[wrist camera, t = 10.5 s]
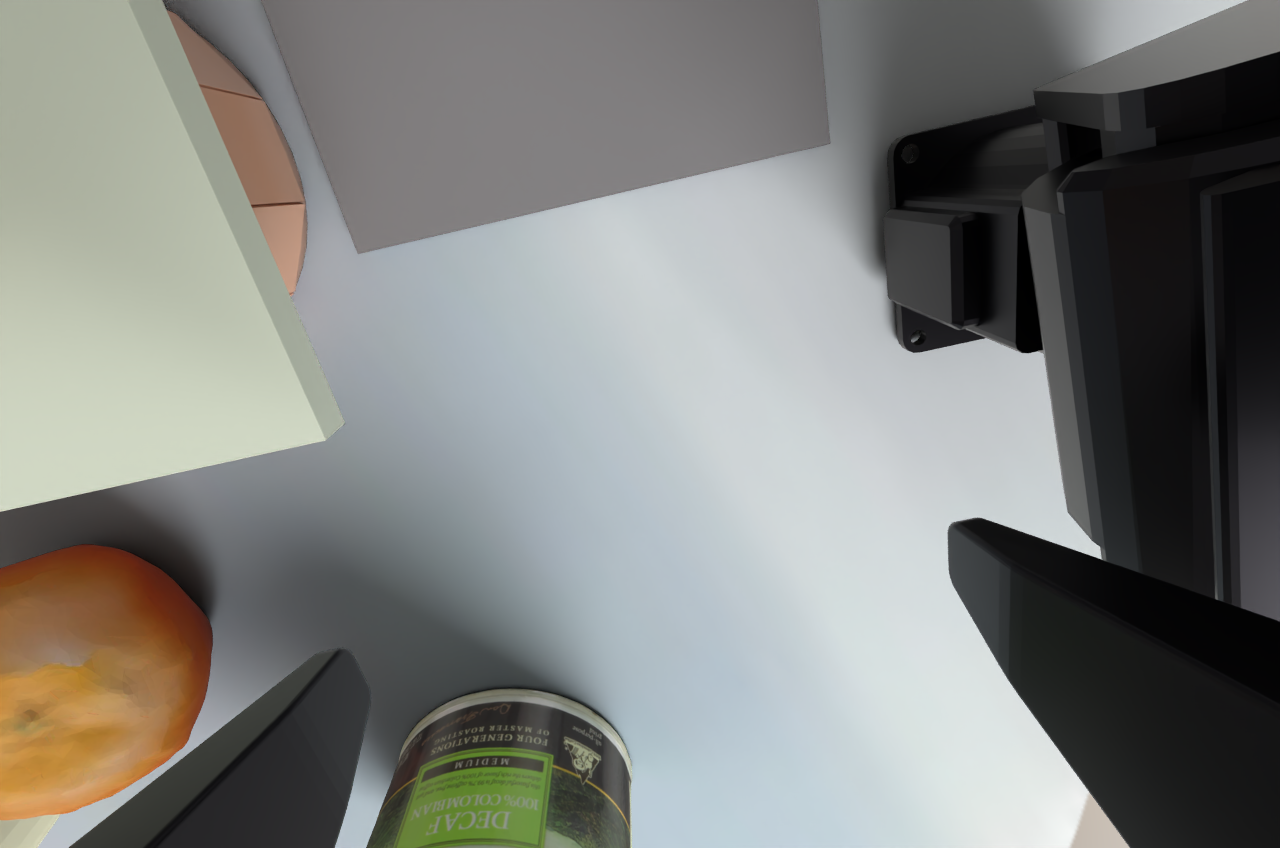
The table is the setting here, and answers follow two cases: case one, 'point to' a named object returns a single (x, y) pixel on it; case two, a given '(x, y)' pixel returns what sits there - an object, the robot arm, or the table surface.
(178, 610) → the fruit
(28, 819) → the reusable coffee cup
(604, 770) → the coffee can
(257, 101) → the pot
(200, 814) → the robot arm
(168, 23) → the lid
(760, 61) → the mat
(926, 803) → the table surface
